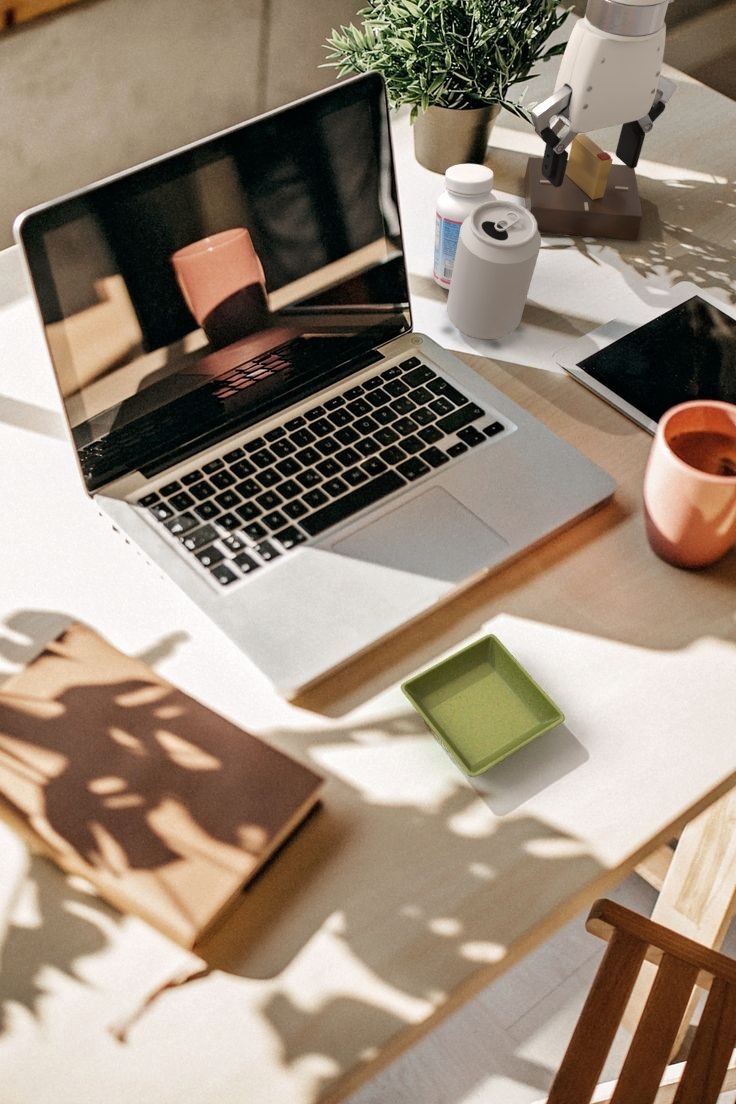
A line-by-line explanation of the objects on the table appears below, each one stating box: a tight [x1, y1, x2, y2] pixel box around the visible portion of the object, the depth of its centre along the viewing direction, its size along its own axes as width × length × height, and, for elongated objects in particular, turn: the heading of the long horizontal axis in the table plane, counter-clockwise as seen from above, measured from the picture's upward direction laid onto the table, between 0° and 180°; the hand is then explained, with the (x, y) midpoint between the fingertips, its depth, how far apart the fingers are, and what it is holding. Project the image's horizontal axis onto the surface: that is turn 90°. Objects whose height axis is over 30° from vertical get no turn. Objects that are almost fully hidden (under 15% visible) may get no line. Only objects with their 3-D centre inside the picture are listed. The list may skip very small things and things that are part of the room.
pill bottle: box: [432, 163, 498, 291], centre depth 103 cm, size 6×6×11 cm
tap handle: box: [566, 133, 613, 200], centre depth 112 cm, size 6×1×5 cm, turn 26°
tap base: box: [523, 156, 643, 241], centre depth 115 cm, size 12×10×3 cm
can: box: [446, 199, 542, 340], centre depth 98 cm, size 8×8×12 cm
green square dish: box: [400, 633, 566, 778], centre depth 74 cm, size 9×9×2 cm
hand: (588, 171), depth 112 cm, fingers open, 9 cm apart
